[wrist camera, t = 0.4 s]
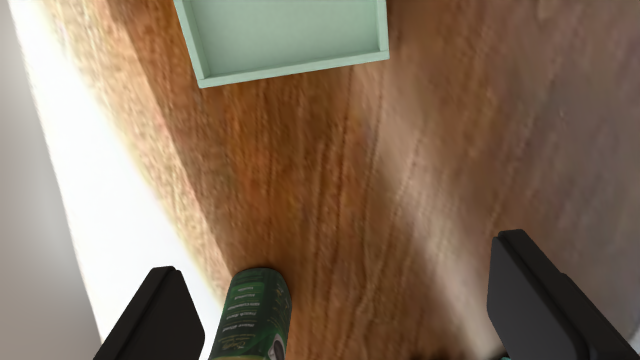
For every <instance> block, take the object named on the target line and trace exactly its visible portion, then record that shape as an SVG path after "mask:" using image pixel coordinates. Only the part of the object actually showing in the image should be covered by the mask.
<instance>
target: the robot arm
mask: <svg viewBox="0 0 640 360" xmlns="http://www.w3.org/2000/svg"><path fill="white" fill-rule="evenodd" d="M487 312H488V315H489V318H490V320H491V322H492V324H493V326H494V328H495V330H496V332H497V334H498V335H499V337H500V339H501V341H502V343H503V345H504V347H505V349H506V351H507V353H508V355H509V357H510V358H511V360H640V356H639V355H638V354H637V353H636V351H635V350H634V349H633V348H632V347H631V346H630V345H629V344H628V342H627V341H626V340H625V339H624V338H623V337H622V336H621V335H620V333H619V332H618V331H617V330H616V329H615V328H614V327H613V326H612V324H611V323H610V322H609V321H608V320H607V319H606V318H605V317H604V315H603V314H602V313H601V312H600V311H599V310H598V309H597V308H596V306H595V305H594V304H593V303H592V302H591V301H590V300H589V299H588V297H587V296H586V295H585V294H584V293H583V292H582V291H581V290H580V288H579V287H578V286H577V285H576V284H575V283H574V282H573V281H572V280H571V278H569V277H568V276H567V275H566V274H564V273H560V271H559V270H558V269H557V268H556V267H555V266H554V265H553V263H552V262H551V261H550V260H549V259H548V258H547V257H546V255H545V254H544V253H543V252H542V251H541V250H540V249H539V247H538V246H537V245H536V244H535V243H534V242H533V240H532V239H531V238H530V237H529V236H528V235H527V234H526V232H525V231H523V230H522V229H516V230H507V231H500V232H499V234H498V237H493V239H492V248H491V260H490V272H489V283H488V295H487ZM204 342H205V332H204V329H203V326H202V324H201V321H200V319H199V316H198V314H197V311H196V309H195V306H194V303H193V301H192V298H191V296H190V293H189V291H188V288H187V285H186V283H185V280H184V278H183V275H182V273H181V271H180V270H176V269H175V267H173V266H165V267H156V268H152V269H151V270H150V272H149V273H148V275H147V276H146V278H145V280H144V281H143V283H142V284H141V286H140V287H139V289H138V290H137V292H136V293H135V295H134V297H133V298H132V300H131V301H130V303H129V304H128V306H127V307H126V309H125V310H124V312H123V314H122V315H121V317H120V318H119V320H118V321H117V323H116V324H115V326H114V327H113V329H112V330H111V332H110V334H109V335H108V337H107V338H106V340H105V341H104V343H103V344H102V346H101V347H100V349H99V351H98V352H97V354H96V355H95V357H94V358H93V360H199V357H200V354H201V351H202V348H203V346H204Z"/></svg>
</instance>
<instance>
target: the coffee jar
mask: <svg viewBox="0 0 640 360" xmlns="http://www.w3.org/2000/svg"><path fill="white" fill-rule="evenodd" d="M291 311H292V302H291V297H290V293H289V290H288V287H287V285H286V283H285V281H284V279H283V277H282V275H281V274H280V273H279V272H278V271H275V270H273V269H269V268H253V269H248V270H244V271H242V272H239V273H237V274H236V275H235V276H234V277H233V278H232V280H231V283H230V287H229V290H228V293H227V297H226V300H225V304H224V308H223V312H222V316H221V319H220V323H219V326H218V329H217V333H216V336H215V340H214V343H213V346H212V350H211V353H210V356H209V358H208V360H285V354H286V346H287V339H288V332H289V325H290V319H291Z"/></svg>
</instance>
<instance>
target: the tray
mask: <svg viewBox="0 0 640 360" xmlns="http://www.w3.org/2000/svg"><path fill="white" fill-rule="evenodd" d="M173 1H174V4H175V7H176V11H177V14H178V17H179V21H180V24H181V28H182V31H183V34H184V38H185V41H186V44H187V48H188V51H189V55H190V58H191V61H192V65H193V68H194V71H195V75H196V78H197V82H198V85H199V88H205V87H212V86H218V85H224V84H231V83H237V82H244V81H250V80H257V79H263V78H269V77H276V76H282V75H289V74H295V73H302V72H308V71H315V70H321V69H327V68H334V67H340V66H347V65H353V64H360V63H366V62H373V61H379V60H385V59H389V58H390V56H389V41H388V26H387V10H386V0H173Z"/></svg>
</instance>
